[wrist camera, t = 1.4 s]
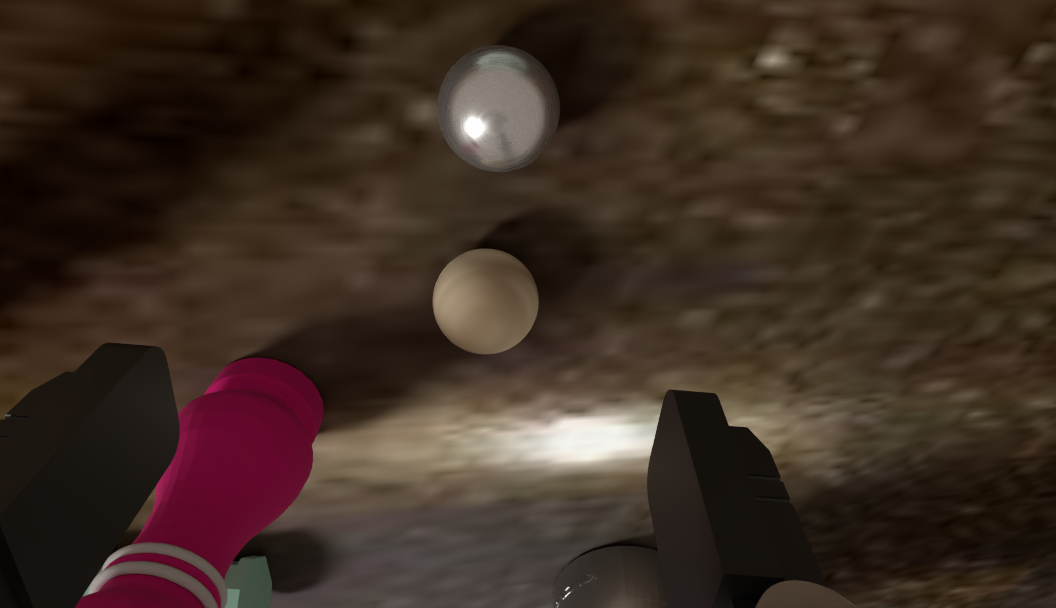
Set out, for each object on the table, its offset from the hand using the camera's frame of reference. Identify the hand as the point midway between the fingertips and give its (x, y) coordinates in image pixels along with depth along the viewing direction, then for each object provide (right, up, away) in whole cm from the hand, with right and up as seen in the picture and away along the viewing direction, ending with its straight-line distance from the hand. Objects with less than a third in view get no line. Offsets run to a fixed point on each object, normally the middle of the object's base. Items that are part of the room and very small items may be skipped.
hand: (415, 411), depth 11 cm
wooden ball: (0, +3, +24) cm, 24 cm away
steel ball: (+1, +11, +19) cm, 22 cm away
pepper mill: (-13, -4, +28) cm, 31 cm away
